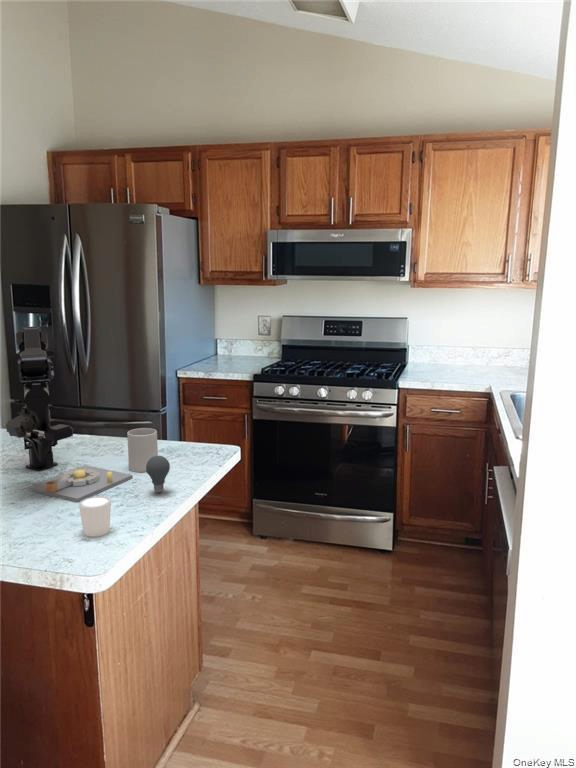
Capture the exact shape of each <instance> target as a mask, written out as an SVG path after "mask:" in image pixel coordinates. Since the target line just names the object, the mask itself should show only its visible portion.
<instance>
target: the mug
mask: <svg viewBox="0 0 576 768" xmlns="http://www.w3.org/2000/svg"><path fill="white" fill-rule="evenodd" d="M126 435H127V437H126V438H127V456H128V457H127V459H128V469H129V471H130V472H133V473H147V471H146V465H147V462H148V460H149V459H150V458H152V457H154V456H159V449H158V431H157V429H155V428H151V427H150V428H149V427H140V428H134V429H130V430H128V431H127V434H126Z"/></svg>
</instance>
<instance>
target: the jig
mask: <svg viewBox="0 0 576 768" xmlns="http://www.w3.org/2000/svg"><path fill="white" fill-rule="evenodd" d="M83 469H86V470H88V469H92V470H96V471H98V472H99V480H98V481H96V482H94V483H92V484H86V485H83V486H73V485H72V486H68V487H65V488H63V489H60V490H58V491H56V492H53V493H52V492H48V491H46V488H45V483H47V482H50V481H54V480H56V479H59V478H60V476H61V475H62V474H64V473H66V472H69V471H74V470H75V471H74V476H75V479H78V478H85V477H86V476H85V470H83ZM132 479H133V474H130V473H125V472H120V471H115V470H112V469H111V470H110V469H106V468H101V467H96V466H91V465H88V464H87V465H86V464H85V465H82V466H78V467H75V468H73V469H70V470H68V471H65V472H62V473H59V474H58V475H55V476H52V477H49V478H47V479H44V480H42V481H41V480H40V481H39V482H36V483H33V484H29V485H28V486H27V490H28V491H31V492H34V493H39V494H43V495H46V496H51V497H55V498H58V499H63V500H66V501H70V502H74V503H79V502H81V501H82V500H84V499H86V498H91V497H95V495H97V494H100V493H103V492H105V491H107V490H109V489H112V488H114V487H116V486H118V485H120V484H124V483H125V482H128V481H130V480H132Z"/></svg>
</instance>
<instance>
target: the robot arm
mask: <svg viewBox="0 0 576 768" xmlns="http://www.w3.org/2000/svg"><path fill="white" fill-rule="evenodd" d="M48 342H49V341H48V332H46V331H45V330H42V328H41V327H40V326H37V325H36V326H34V325H33V326H24V327H21V330H20V331H18V332H16V333H15V343H16V344H15V345H16V350H17V351H19V357H20V359H17V368H18V369H17V371H18V383H19V385H23V391H24V393H23V394H24V403H25V404H24V405H25V406H23V407H21V409H20V411H21V412H20V414H19V415H17V416H16V417H14V418H12V419H11V420H9V421H7V422H6V424H5V425H4V426H5V428H6V432H7V433H8V434H9V436H10V437H16V438H18V439H21V438H23V444H24V445H23V446H24V450H25V451H26V450H28V459H29V464H26V465H25V466H24V467H25V468H27V469H31V470H36V471H43V470H46V469H49V468H52V467H55V466H57V465H58V462H54V453H53V452H54V451H53V448H54V447H56V446H57V445H58V442H59V441H62V440H65V439H67V438H70V437H73V436H74V428H73V427H72V426H71V425H67V424H63V423H61V424H60V423H58V424H57V425H55V420H54V419H51V410H53V409H54V405H53V404H50V402H51V397H50V391H49V384H48V383H52V382H53V379H55V373H54V371H55V370H54V363H53V361H52V360H51V359H52V358H50V357H48V355H47V351H46V350H47V349H48V347H49V343H48Z"/></svg>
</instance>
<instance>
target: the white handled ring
mask: <svg viewBox="0 0 576 768" xmlns="http://www.w3.org/2000/svg"><path fill="white" fill-rule="evenodd" d="M83 470H85V476H86V477H85V478H78V479H75V476H74V471H75V470H74V471H70V470H68V471H69V472H68V471H65V472H66V473H65V472H63V473H64V474H62V473H61V474H62V475H61V476H60V478H59V479H56V480H54V481H50V482H47V483H45V488H46V491H48V492H52V493H53V492H56V491H58V490H60V489H63V488H65V487H68V486H72V485H73V486H83V485H86V484H92V483H94V482H96V481H98V480H99V472H98V471H96V470H92V469H88V470H86V469H83Z"/></svg>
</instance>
